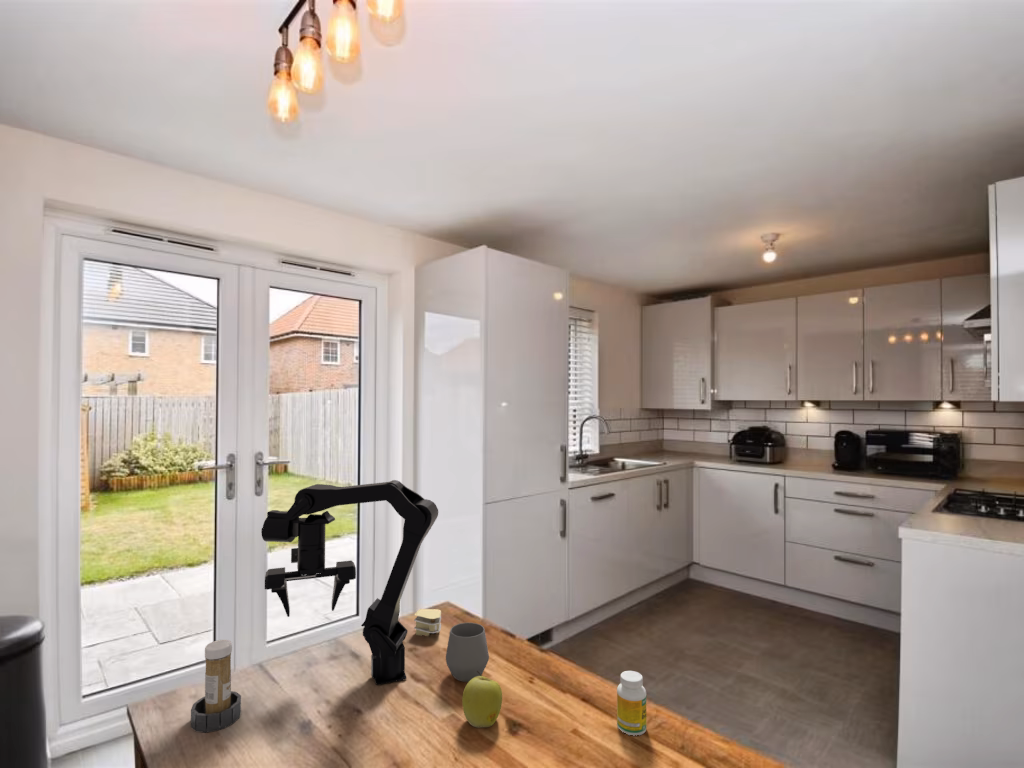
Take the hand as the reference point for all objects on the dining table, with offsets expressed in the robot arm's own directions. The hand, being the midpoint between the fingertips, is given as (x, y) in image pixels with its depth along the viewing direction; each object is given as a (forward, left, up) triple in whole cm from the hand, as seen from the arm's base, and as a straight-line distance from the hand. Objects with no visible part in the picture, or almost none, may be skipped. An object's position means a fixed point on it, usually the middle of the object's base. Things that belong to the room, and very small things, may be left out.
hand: (310, 613), depth 121 cm
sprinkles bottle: (+17, +12, -13) cm, 24 cm away
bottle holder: (+17, +12, -13) cm, 25 cm away
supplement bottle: (-55, +43, -13) cm, 71 cm away
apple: (-30, +31, -13) cm, 45 cm away
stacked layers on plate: (-29, -10, -14) cm, 33 cm away
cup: (-32, +14, -13) cm, 37 cm away
